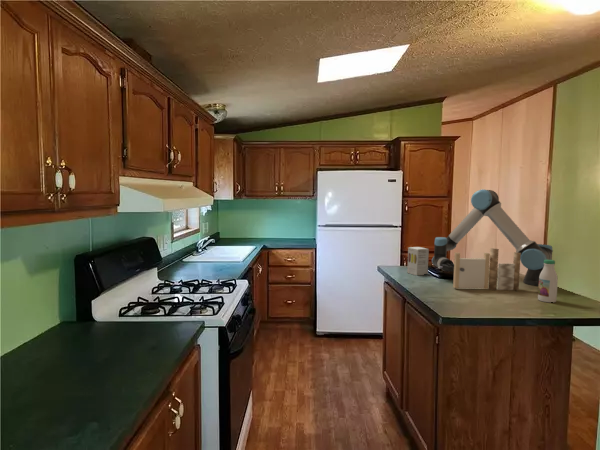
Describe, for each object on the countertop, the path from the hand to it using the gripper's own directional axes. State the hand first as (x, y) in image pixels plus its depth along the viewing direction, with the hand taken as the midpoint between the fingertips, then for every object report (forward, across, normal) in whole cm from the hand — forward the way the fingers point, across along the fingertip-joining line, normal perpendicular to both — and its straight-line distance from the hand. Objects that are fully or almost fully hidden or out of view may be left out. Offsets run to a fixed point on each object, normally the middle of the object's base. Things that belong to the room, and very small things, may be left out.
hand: (461, 272), depth 223 cm
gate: (+8, -3, -7) cm, 11 cm away
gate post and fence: (+7, -21, -8) cm, 23 cm away
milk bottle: (+30, -30, -8) cm, 43 cm away
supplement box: (-34, +14, -8) cm, 37 cm away
